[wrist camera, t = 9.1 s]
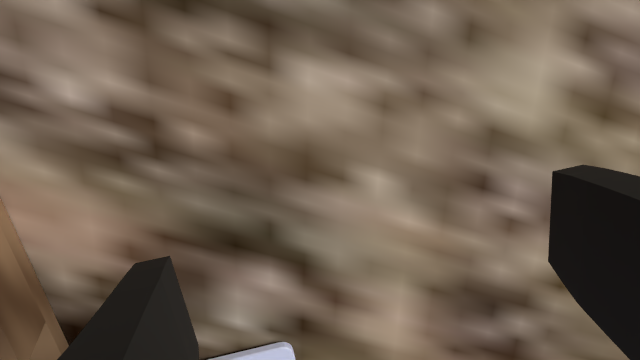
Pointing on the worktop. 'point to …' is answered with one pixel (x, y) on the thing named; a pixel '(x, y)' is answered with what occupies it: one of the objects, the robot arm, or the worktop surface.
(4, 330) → the rack
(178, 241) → the worktop surface
